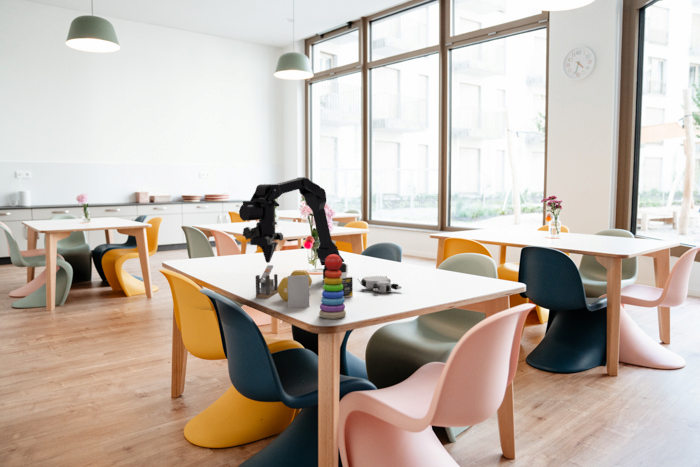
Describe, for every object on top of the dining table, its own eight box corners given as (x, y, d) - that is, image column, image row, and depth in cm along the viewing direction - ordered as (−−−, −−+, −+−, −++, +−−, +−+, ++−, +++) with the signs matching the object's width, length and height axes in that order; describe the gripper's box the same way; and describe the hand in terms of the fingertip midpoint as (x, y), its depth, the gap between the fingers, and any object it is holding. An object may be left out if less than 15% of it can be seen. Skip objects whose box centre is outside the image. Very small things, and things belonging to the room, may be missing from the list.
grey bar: (268, 267, 190) (267, 264, 189) (273, 267, 189) (272, 264, 188) (259, 283, 181) (259, 280, 180) (265, 283, 181) (264, 280, 180)
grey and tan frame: (266, 292, 191) (265, 271, 191) (277, 292, 191) (277, 271, 190) (255, 298, 181) (255, 276, 180) (268, 298, 180) (267, 276, 180)
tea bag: (309, 306, 167) (309, 276, 167) (288, 307, 166) (288, 277, 165) (308, 304, 171) (308, 274, 170) (288, 305, 170) (287, 275, 169)
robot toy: (403, 295, 189) (385, 285, 202) (403, 283, 188) (385, 274, 202) (373, 298, 184) (356, 287, 198) (373, 286, 183) (356, 276, 197)
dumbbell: (301, 302, 174) (301, 278, 173) (275, 301, 175) (275, 278, 175) (313, 291, 193) (313, 269, 192) (289, 290, 194) (289, 269, 193)
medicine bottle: (334, 298, 179) (334, 264, 178) (326, 294, 186) (325, 261, 185) (352, 296, 183) (352, 262, 182) (343, 292, 189) (343, 260, 188)
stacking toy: (333, 321, 149) (332, 256, 147) (313, 316, 154) (312, 254, 152) (351, 316, 155) (350, 254, 153) (332, 311, 160) (331, 251, 158)
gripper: (255, 217, 196) (256, 258, 197) (235, 221, 177) (236, 265, 179) (283, 217, 194) (284, 259, 195) (266, 221, 175) (267, 266, 177)
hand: (267, 262), depth 186 cm, fingers closed
